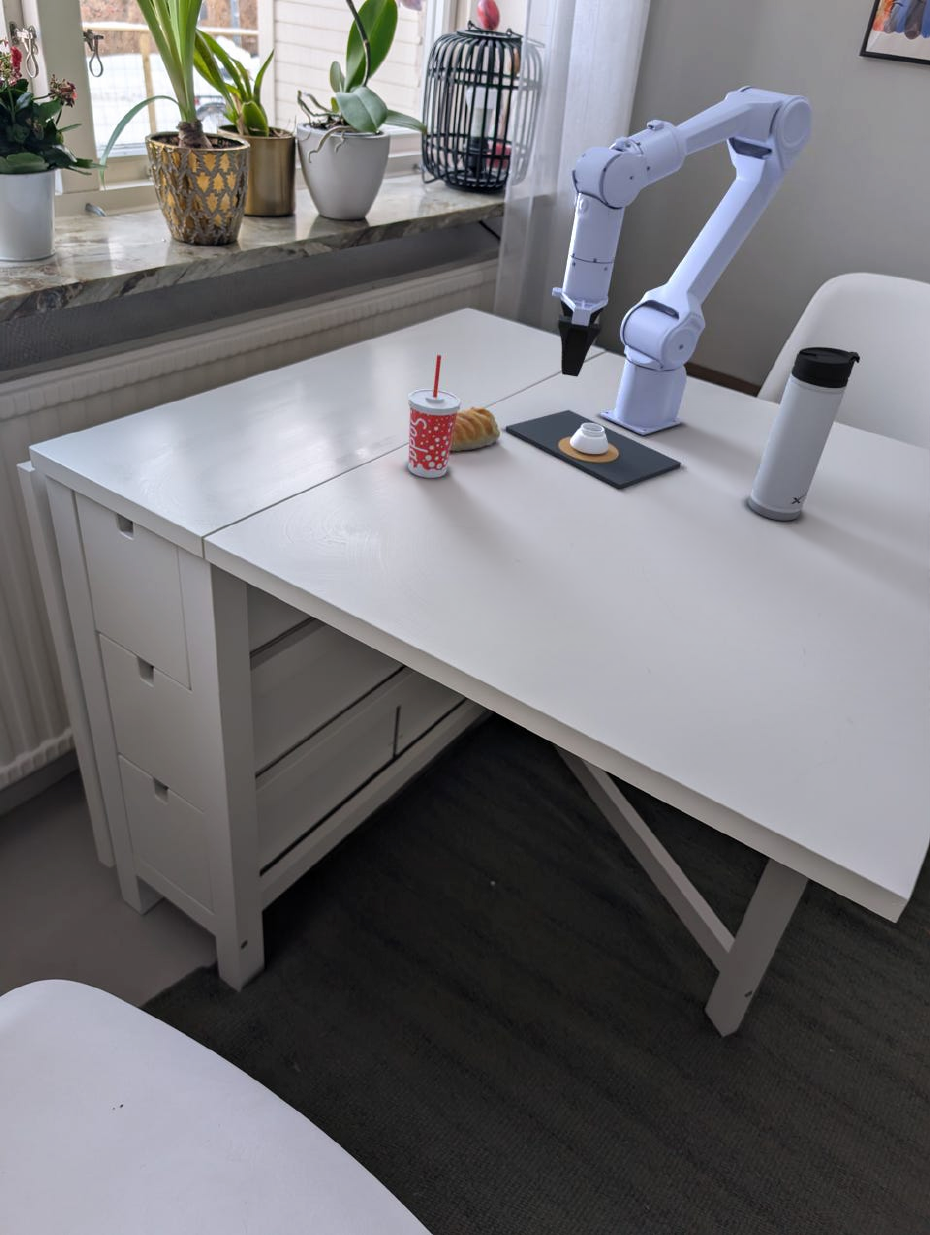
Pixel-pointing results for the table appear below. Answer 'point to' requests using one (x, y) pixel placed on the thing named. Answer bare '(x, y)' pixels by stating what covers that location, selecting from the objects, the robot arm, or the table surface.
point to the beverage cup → (431, 428)
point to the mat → (614, 466)
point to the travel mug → (801, 431)
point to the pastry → (474, 429)
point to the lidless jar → (590, 439)
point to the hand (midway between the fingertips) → (571, 365)
